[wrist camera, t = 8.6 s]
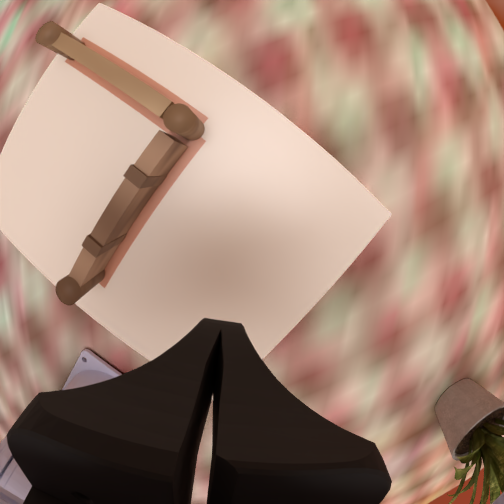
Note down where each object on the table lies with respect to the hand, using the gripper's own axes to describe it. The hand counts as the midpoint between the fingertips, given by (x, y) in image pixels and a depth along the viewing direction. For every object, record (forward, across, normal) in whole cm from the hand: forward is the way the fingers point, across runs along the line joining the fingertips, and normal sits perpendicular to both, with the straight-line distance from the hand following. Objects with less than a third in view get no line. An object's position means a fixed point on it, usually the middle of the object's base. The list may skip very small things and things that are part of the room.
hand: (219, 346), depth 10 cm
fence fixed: (+10, +9, -11) cm, 17 cm away
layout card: (+10, +6, -3) cm, 12 cm away
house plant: (+10, -23, +12) cm, 28 cm away
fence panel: (+9, +7, -2) cm, 12 cm away
